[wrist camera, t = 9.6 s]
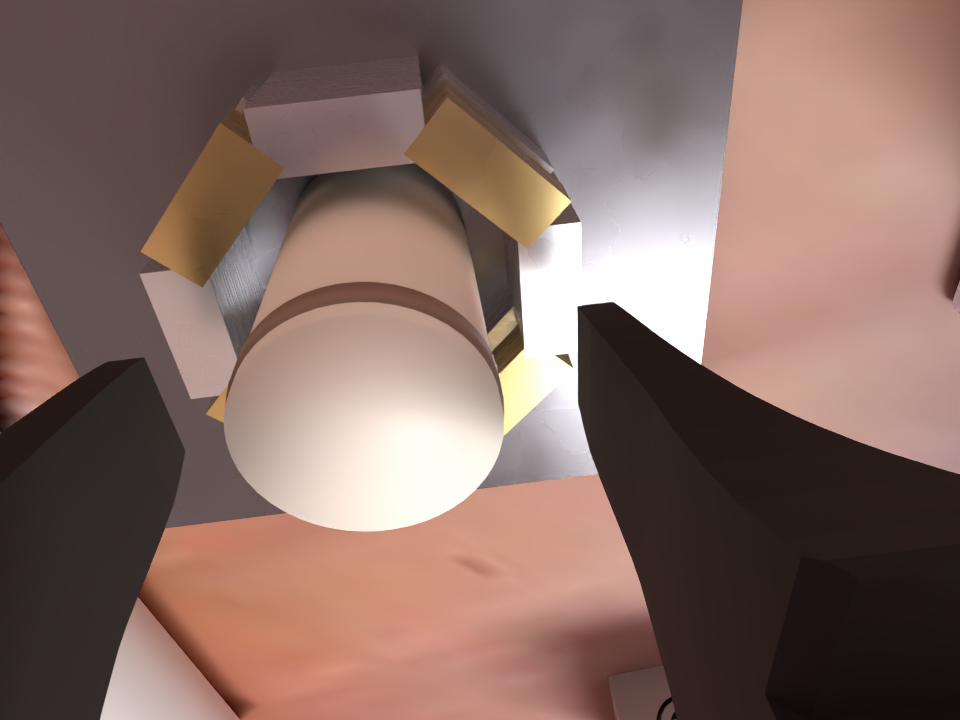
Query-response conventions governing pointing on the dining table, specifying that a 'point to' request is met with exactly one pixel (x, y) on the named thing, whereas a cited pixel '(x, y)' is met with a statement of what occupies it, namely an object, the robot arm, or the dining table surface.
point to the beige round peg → (368, 359)
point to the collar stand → (352, 146)
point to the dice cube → (642, 695)
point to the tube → (158, 678)
